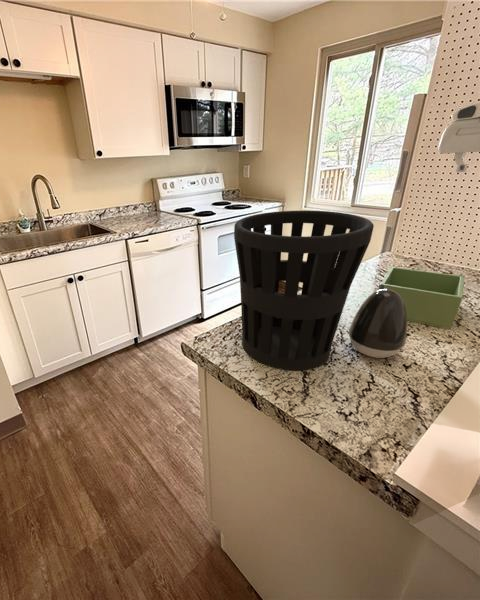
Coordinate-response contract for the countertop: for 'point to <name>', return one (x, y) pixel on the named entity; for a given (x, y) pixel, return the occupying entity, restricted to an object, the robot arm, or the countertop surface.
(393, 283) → the bin
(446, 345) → the countertop surface
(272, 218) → the wastebasket
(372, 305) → the dark brown egg shape
